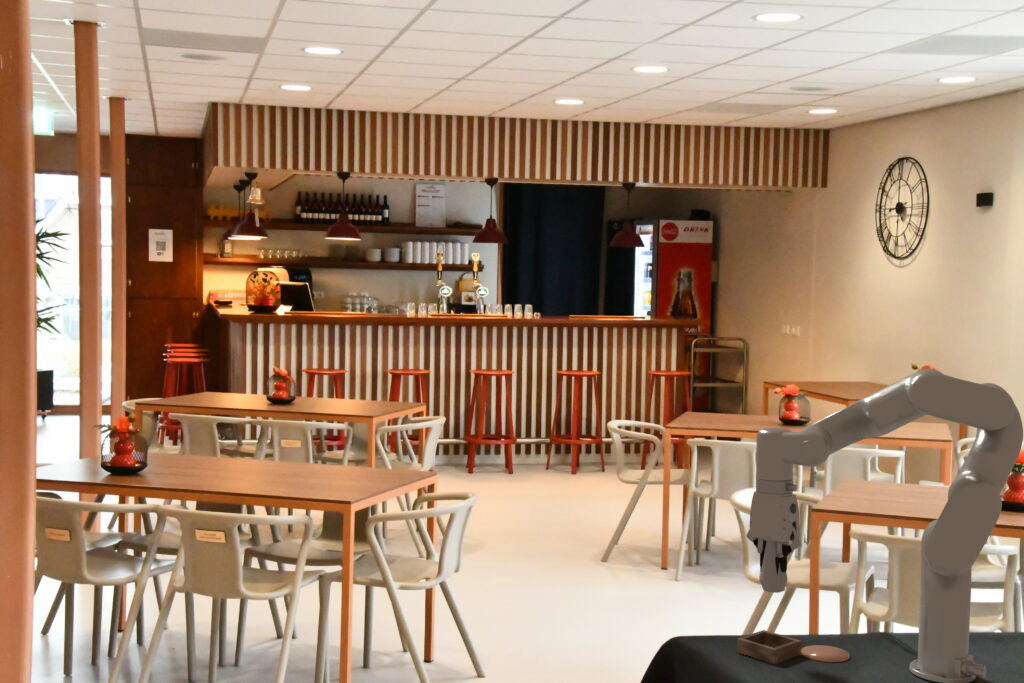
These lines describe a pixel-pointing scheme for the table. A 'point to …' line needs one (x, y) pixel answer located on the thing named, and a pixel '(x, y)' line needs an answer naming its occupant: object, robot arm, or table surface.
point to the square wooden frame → (758, 650)
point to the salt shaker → (771, 569)
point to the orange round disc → (825, 653)
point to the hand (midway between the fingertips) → (773, 572)
